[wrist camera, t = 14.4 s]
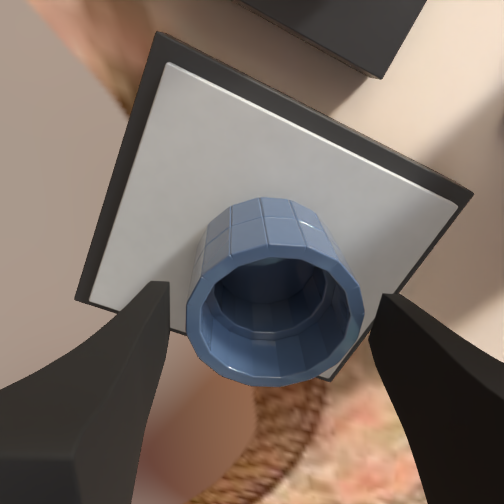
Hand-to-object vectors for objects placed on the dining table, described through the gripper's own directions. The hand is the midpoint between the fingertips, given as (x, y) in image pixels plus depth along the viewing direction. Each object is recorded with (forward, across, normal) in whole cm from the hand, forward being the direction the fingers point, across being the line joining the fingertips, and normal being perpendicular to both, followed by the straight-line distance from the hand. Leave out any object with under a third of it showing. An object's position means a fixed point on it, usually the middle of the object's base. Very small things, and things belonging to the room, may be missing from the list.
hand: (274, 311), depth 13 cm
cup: (+4, 0, 0) cm, 4 cm away
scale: (+6, 0, 0) cm, 6 cm away
